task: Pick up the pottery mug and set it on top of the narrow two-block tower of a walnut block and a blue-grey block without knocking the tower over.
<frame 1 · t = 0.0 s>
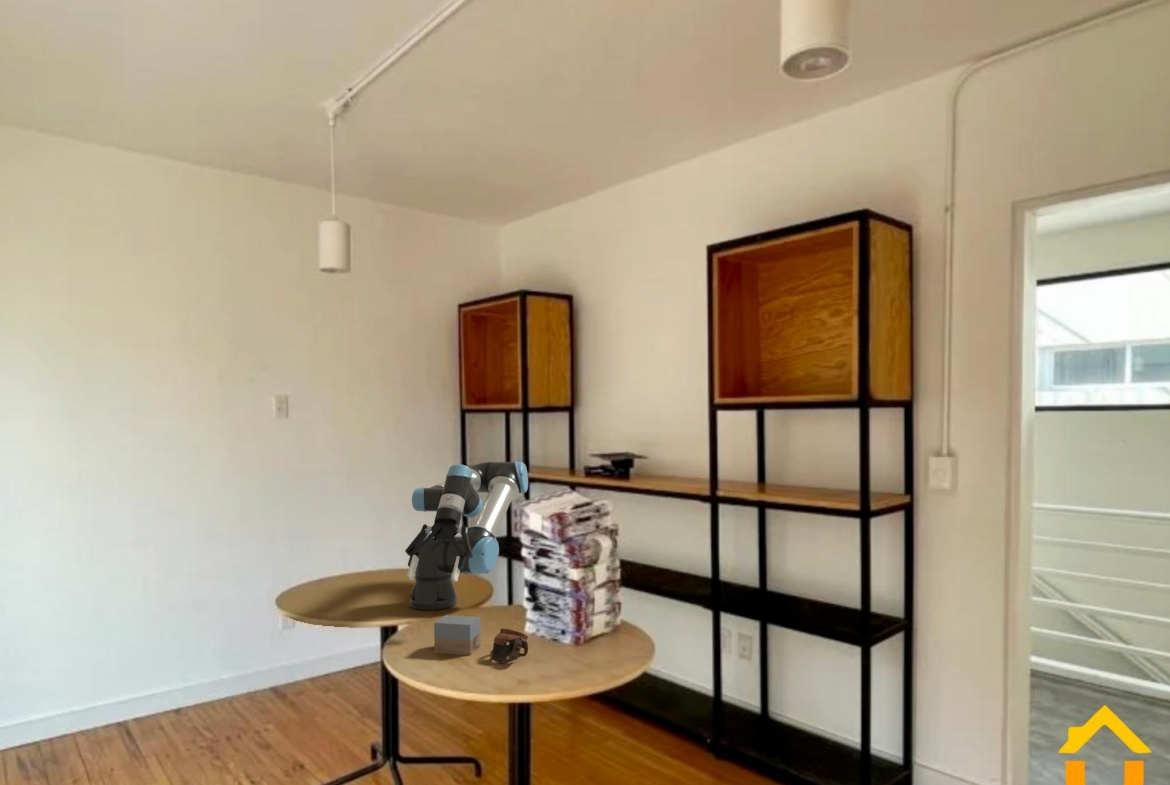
hand: (431, 579, 195), 15 cm above the table, tool tilted 35°, fingers open, 13 cm apart
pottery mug: (510, 659, 174), on the table
walnut block: (458, 650, 181), on the table
blue-grey block: (457, 635, 181), point 4 cm above the table
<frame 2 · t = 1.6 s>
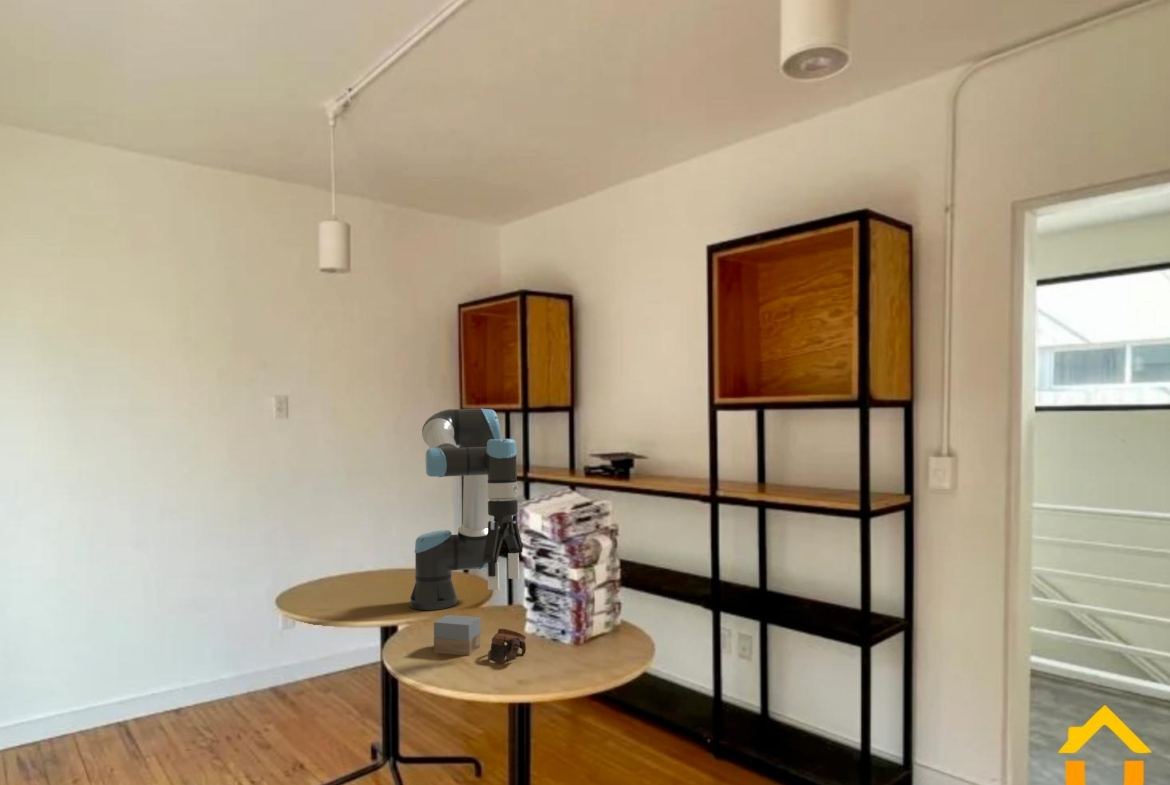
hand: (504, 583, 174), 19 cm above the table, tool pointing down, fingers open, 13 cm apart
walnut block: (457, 650, 181), on the table, touching blue-grey block
blue-grey block: (457, 635, 181), point 4 cm above the table, touching walnut block
everything else where it was.
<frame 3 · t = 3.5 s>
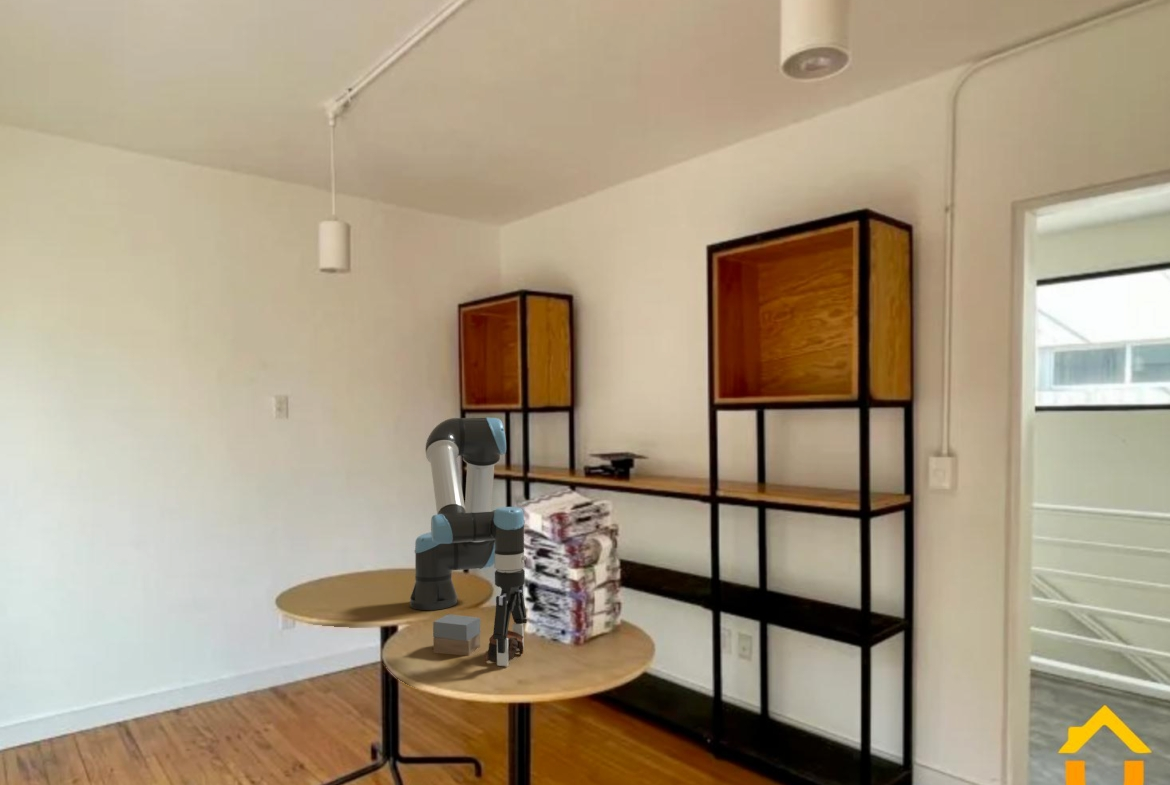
hand: (510, 657, 174), 0 cm above the table, tool pointing down, fingers closed on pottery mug, 11 cm apart
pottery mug: (505, 659, 173), on the table, touching gripper
everything else where it was.
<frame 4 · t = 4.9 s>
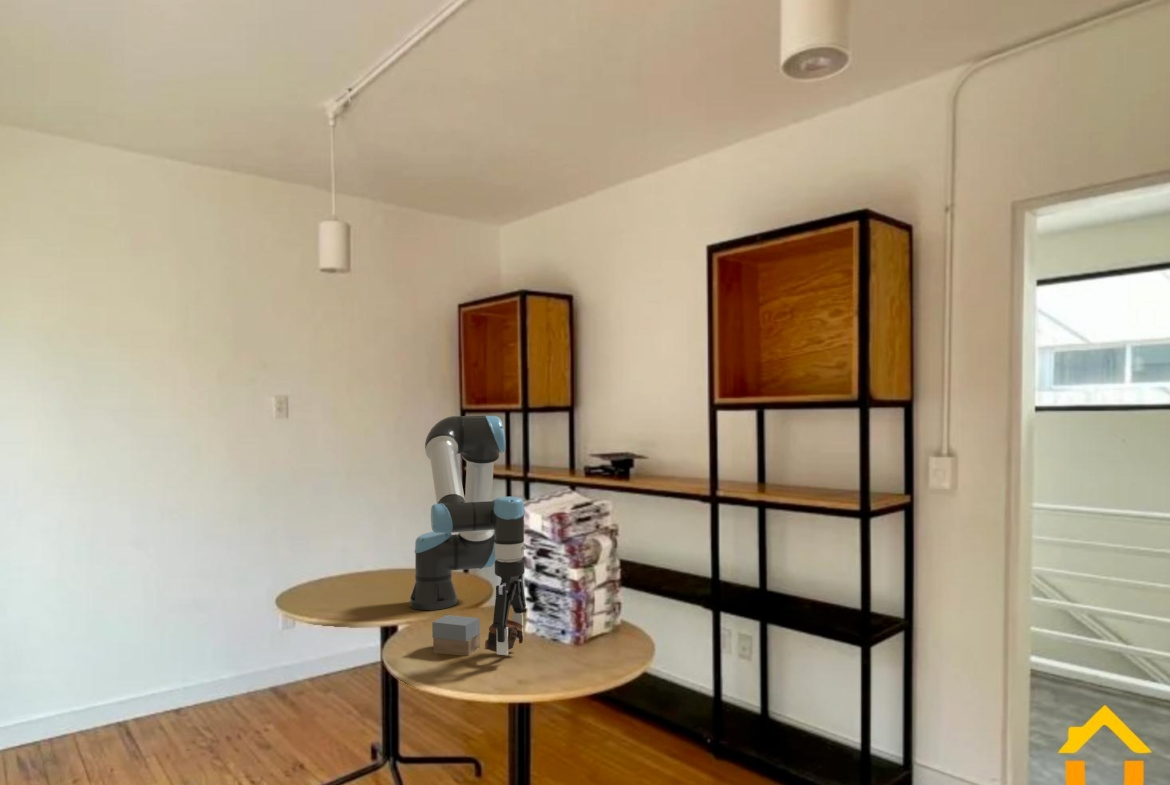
hand: (510, 646, 174), 3 cm above the table, tool pointing down, fingers closed on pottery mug, 11 cm apart
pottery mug: (505, 648, 174), point 2 cm above the table, touching gripper
walnut block: (457, 650, 181), on the table
blue-grey block: (456, 635, 181), point 4 cm above the table
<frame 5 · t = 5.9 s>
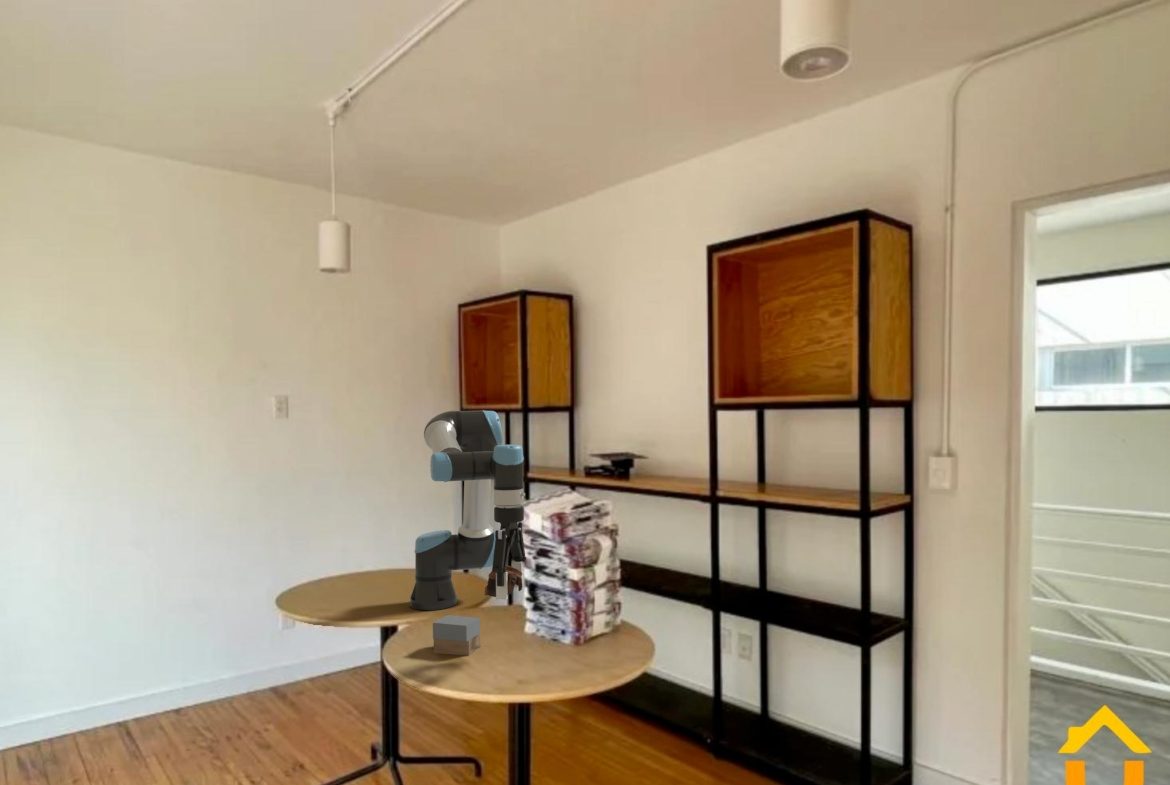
hand: (509, 592, 174), 16 cm above the table, tool pointing down, fingers closed on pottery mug, 11 cm apart
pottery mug: (505, 595, 174), point 16 cm above the table, touching gripper
walnut block: (457, 650, 181), on the table, touching blue-grey block
blue-grey block: (456, 635, 181), point 4 cm above the table, touching walnut block
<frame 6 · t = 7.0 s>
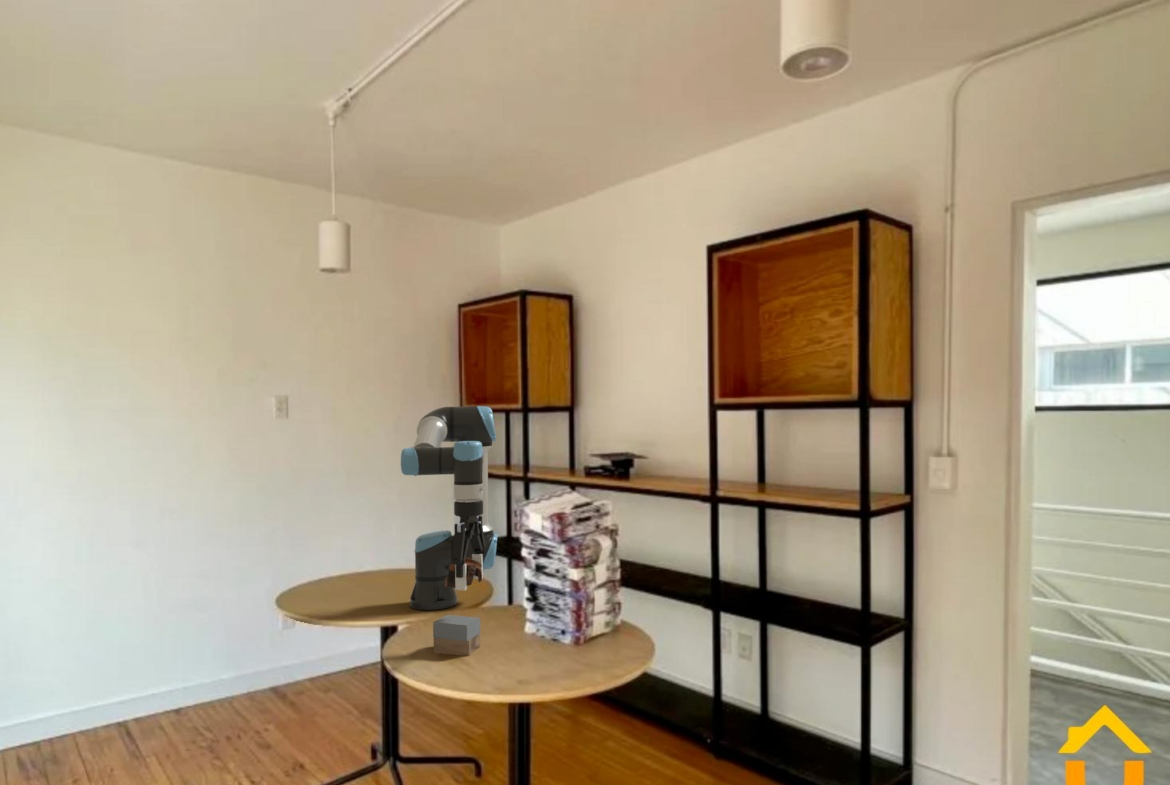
hand: (469, 584, 181), 17 cm above the table, tool pointing down, fingers closed on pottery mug, 11 cm apart
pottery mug: (464, 586, 180), point 17 cm above the table, touching gripper
walnut block: (457, 650, 181), on the table
blue-grey block: (457, 635, 181), point 4 cm above the table
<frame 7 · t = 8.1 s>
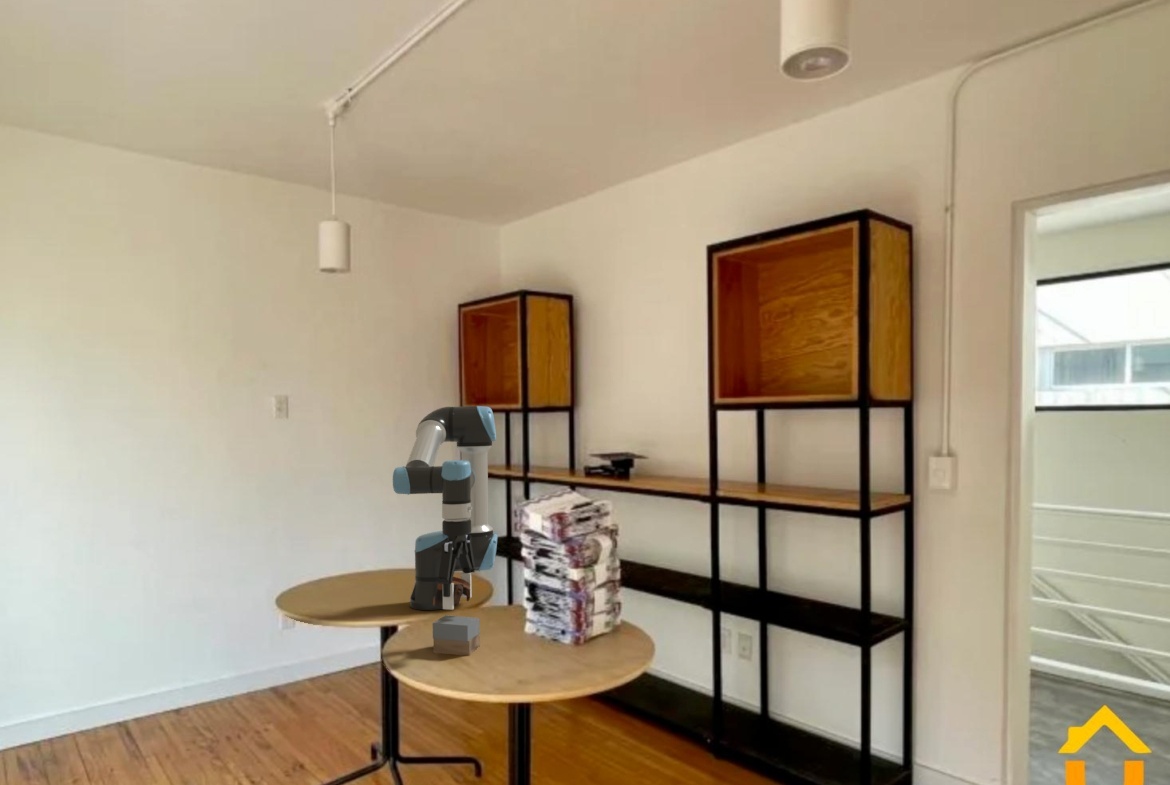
hand: (457, 603, 181), 12 cm above the table, tool pointing down, fingers closed on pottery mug, 11 cm apart
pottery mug: (452, 605, 181), point 12 cm above the table, touching gripper
walnut block: (457, 651, 181), on the table, touching blue-grey block
blue-grey block: (456, 635, 181), point 4 cm above the table, touching walnut block
when the fingers open (10 cm above the table, at t = 9.5 s): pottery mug drops 2 cm, point 7 cm above the table.
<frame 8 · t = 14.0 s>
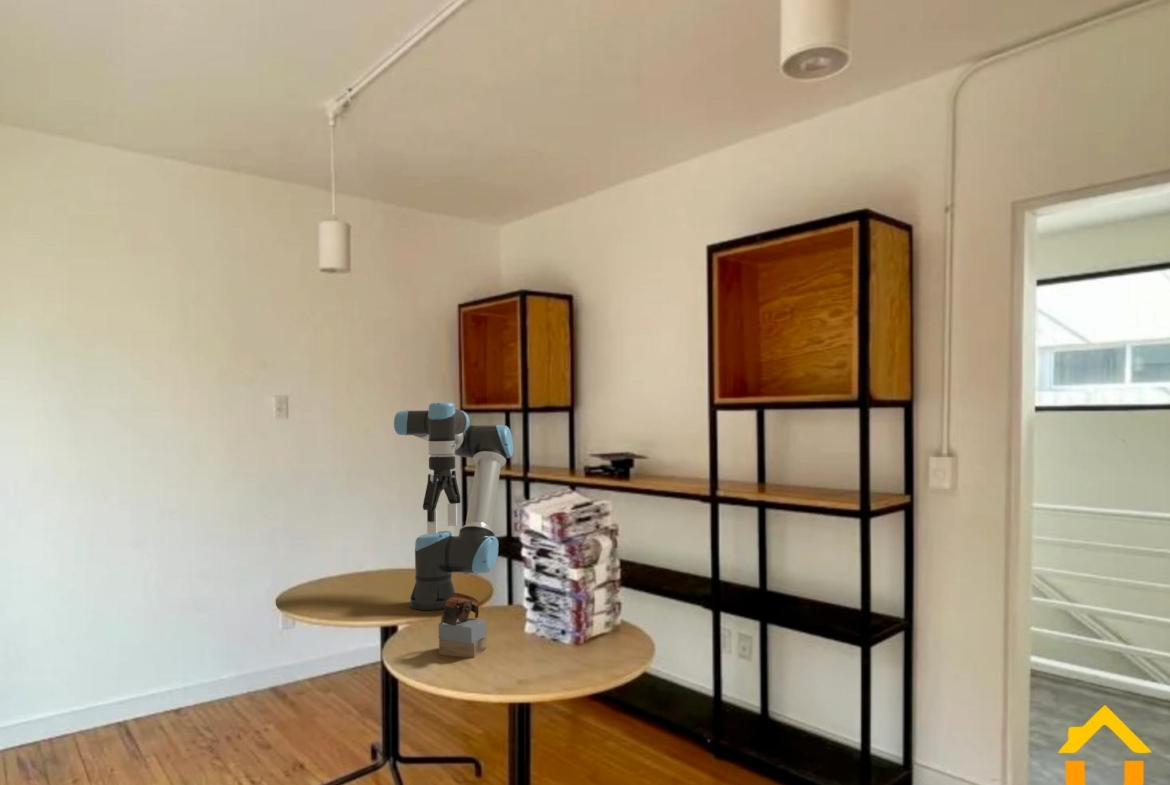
hand: (442, 529, 199), 29 cm above the table, tool pointing down, fingers open, 13 cm apart
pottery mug: (461, 622, 180), point 7 cm above the table
walnut block: (463, 652, 179), on the table, touching blue-grey block
blue-grey block: (462, 637, 179), point 4 cm above the table, touching walnut block
at the end: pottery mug 0.5 cm off-centre on the blue-grey block, point 3.8 cm above the blue-grey block's base; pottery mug tilted 1°; blue-grey block 0.4 cm off-centre on the walnut block, point 4.0 cm above the walnut block's base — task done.
